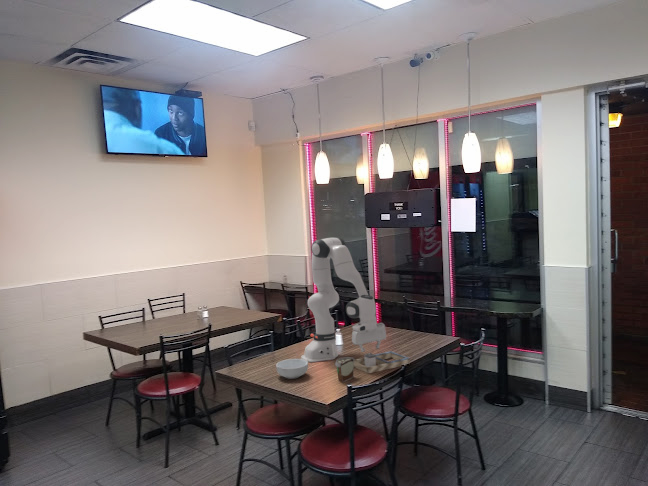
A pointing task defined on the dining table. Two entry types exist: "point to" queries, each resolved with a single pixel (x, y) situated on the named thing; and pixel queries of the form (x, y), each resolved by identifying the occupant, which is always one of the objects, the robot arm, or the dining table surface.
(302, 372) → the cereal bowl
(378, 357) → the divider frame
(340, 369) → the food container
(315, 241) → the robot arm
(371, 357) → the plug block
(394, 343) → the dining table surface
